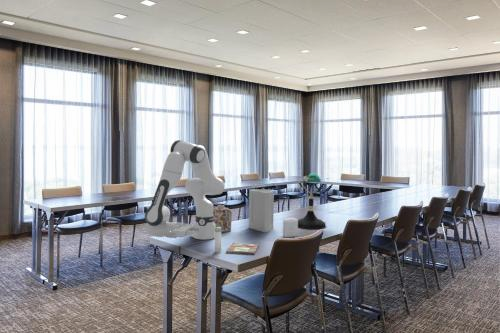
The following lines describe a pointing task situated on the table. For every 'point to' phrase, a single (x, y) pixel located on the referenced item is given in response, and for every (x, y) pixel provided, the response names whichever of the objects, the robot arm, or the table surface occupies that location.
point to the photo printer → (290, 227)
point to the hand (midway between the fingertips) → (197, 231)
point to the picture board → (242, 248)
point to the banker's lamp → (310, 218)
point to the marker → (217, 239)
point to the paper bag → (261, 209)
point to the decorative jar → (222, 218)
